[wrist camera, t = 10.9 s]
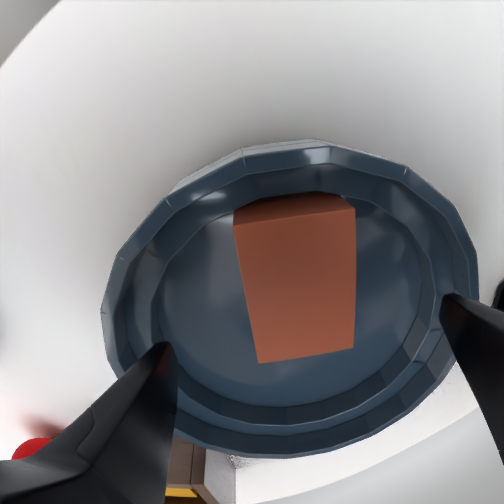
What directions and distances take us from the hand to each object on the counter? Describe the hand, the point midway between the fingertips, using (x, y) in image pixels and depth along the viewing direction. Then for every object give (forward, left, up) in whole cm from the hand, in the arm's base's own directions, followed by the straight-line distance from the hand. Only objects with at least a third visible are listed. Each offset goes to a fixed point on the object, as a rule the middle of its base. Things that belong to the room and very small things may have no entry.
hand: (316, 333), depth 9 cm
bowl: (0, +3, -6) cm, 6 cm away
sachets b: (0, 0, -5) cm, 5 cm away
